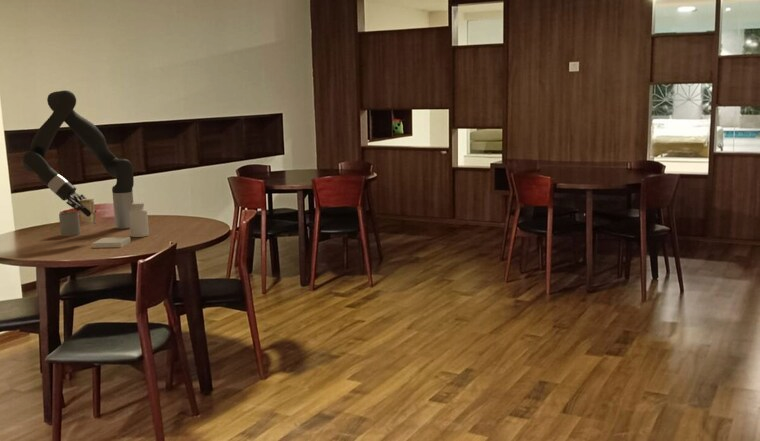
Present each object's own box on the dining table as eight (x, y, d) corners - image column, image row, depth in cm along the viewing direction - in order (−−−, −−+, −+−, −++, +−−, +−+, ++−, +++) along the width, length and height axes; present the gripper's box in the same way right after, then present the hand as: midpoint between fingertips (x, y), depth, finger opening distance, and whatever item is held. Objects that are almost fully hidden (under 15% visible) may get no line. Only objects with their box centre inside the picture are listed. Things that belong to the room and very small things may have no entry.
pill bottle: (152, 234, 345) (150, 202, 343) (141, 238, 338) (139, 204, 335) (138, 234, 348) (135, 201, 345) (126, 237, 340) (124, 204, 338)
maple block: (85, 223, 330) (83, 199, 329) (96, 223, 330) (93, 198, 328) (81, 225, 326) (79, 200, 324) (92, 225, 326) (89, 200, 324)
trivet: (103, 242, 329) (102, 237, 329) (130, 241, 329) (130, 237, 329) (92, 247, 318) (92, 243, 317) (121, 247, 317) (120, 242, 317)
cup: (73, 236, 346) (71, 215, 345) (57, 236, 348) (55, 214, 346) (84, 233, 354) (82, 212, 353) (68, 233, 356) (66, 212, 354)
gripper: (60, 183, 318) (91, 210, 320) (74, 179, 332) (104, 205, 334) (48, 196, 319) (80, 223, 321) (63, 191, 333) (93, 217, 335)
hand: (92, 214), depth 327 cm, fingers closed on maple block, 4 cm apart
